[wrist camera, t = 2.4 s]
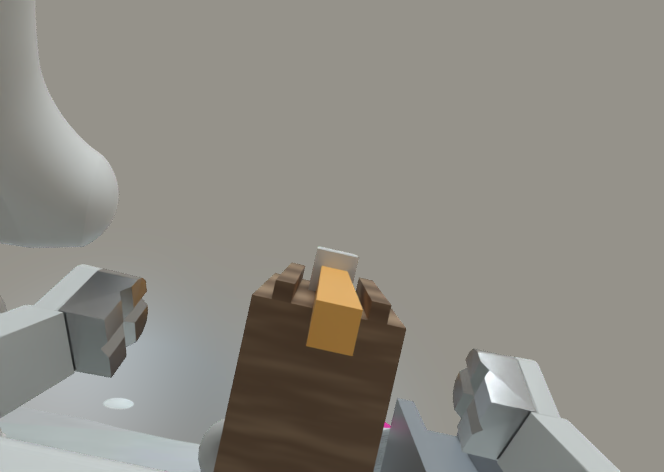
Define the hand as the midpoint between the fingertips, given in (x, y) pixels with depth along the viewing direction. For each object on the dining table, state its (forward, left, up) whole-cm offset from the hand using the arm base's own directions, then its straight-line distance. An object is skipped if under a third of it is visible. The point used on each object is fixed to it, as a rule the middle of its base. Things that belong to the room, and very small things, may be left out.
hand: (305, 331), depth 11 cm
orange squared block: (-16, +16, -4) cm, 23 cm away
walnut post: (-21, +20, -34) cm, 44 cm away
